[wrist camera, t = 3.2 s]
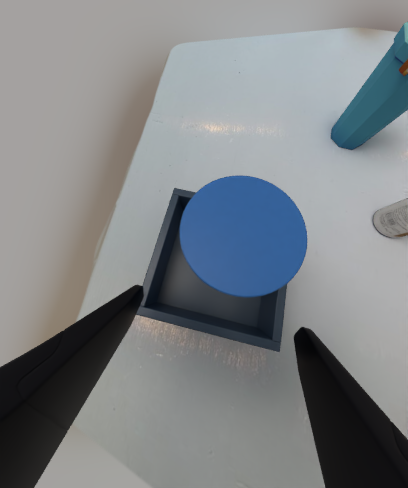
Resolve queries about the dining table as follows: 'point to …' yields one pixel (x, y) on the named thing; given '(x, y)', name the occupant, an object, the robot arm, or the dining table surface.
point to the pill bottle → (393, 219)
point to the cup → (377, 97)
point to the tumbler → (243, 236)
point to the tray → (204, 293)
